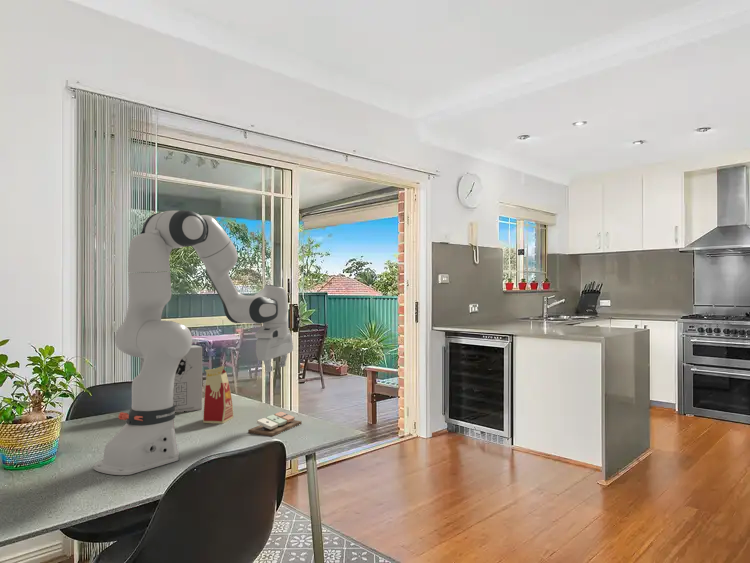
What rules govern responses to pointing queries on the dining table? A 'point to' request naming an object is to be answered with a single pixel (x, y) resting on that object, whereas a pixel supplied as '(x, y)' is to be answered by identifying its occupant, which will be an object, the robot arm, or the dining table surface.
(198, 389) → the cereal box
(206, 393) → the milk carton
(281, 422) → the two-dot tile
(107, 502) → the dining table surface
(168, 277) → the robot arm
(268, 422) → the one-dot tile
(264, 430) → the brown flat board
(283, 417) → the three-dot tile
